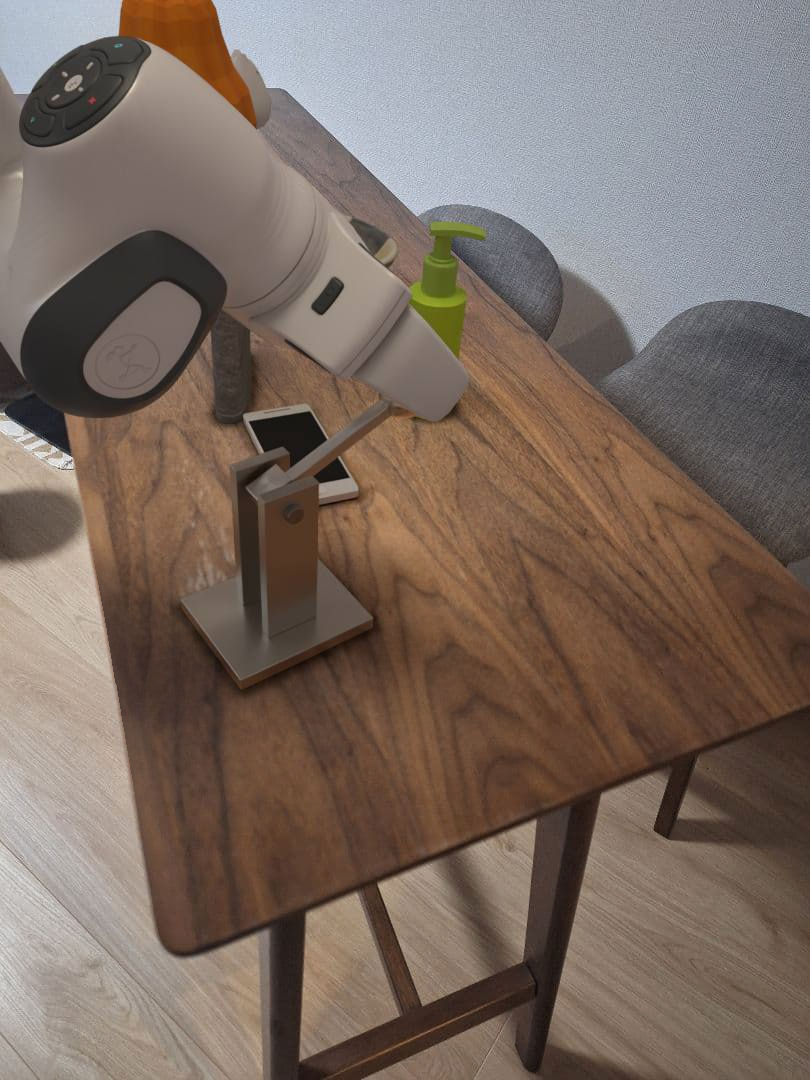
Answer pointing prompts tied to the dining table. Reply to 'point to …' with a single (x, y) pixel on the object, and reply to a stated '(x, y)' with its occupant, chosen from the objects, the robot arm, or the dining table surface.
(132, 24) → the decorative pumpkin
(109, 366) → the robot arm
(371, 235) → the bowl
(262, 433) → the smartphone
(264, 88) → the toy character
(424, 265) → the soap dispenser
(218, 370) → the flask
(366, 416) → the lever
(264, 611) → the metal pivot stand
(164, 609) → the dining table surface
